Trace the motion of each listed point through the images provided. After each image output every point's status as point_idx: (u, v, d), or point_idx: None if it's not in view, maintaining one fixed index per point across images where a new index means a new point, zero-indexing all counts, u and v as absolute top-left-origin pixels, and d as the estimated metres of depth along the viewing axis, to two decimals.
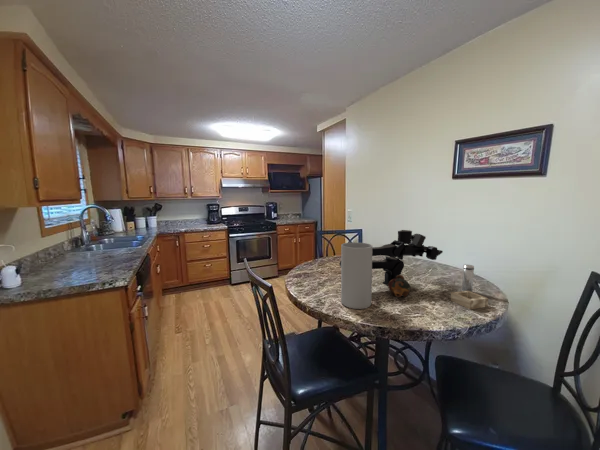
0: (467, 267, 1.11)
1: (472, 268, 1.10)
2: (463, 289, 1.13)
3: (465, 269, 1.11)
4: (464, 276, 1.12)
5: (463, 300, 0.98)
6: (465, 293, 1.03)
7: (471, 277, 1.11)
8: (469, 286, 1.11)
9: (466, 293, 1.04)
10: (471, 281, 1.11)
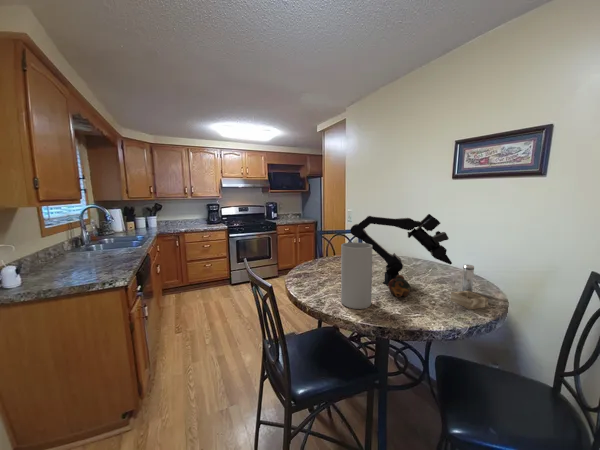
0: (467, 267, 1.11)
1: (472, 268, 1.10)
2: (463, 289, 1.13)
3: (465, 269, 1.11)
4: (464, 276, 1.12)
5: (463, 300, 0.98)
6: (465, 293, 1.03)
7: (471, 277, 1.11)
8: (469, 286, 1.11)
9: (466, 293, 1.04)
10: (471, 281, 1.11)
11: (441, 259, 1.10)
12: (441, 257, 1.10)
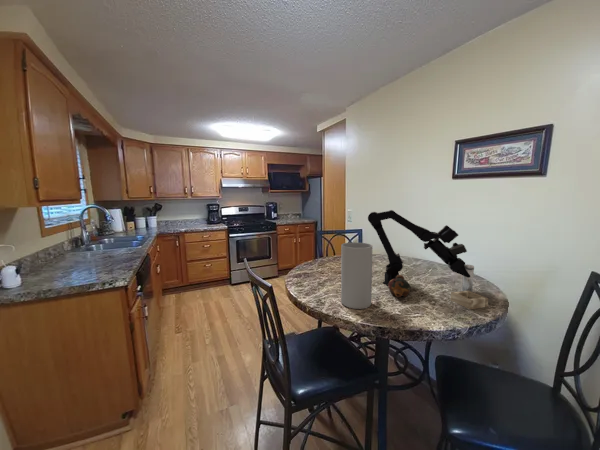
0: (467, 267, 1.11)
1: (472, 268, 1.10)
2: (463, 289, 1.13)
3: None
4: (464, 276, 1.12)
5: (463, 300, 0.98)
6: (465, 293, 1.03)
7: (471, 277, 1.11)
8: (469, 286, 1.11)
9: (466, 293, 1.04)
10: (471, 281, 1.11)
11: (459, 272, 1.08)
12: (459, 270, 1.08)
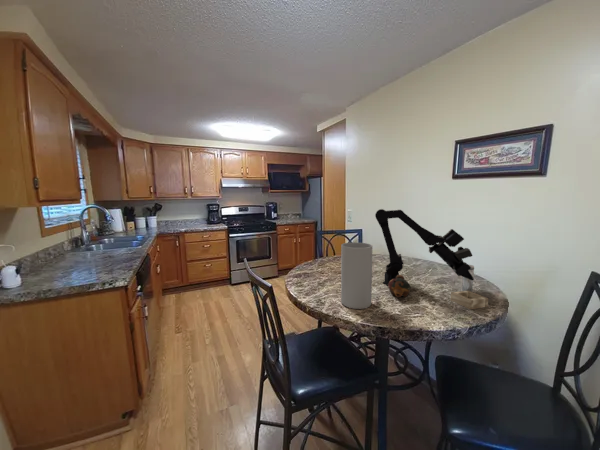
0: None
1: (472, 268, 1.10)
2: (463, 289, 1.13)
3: None
4: None
5: (463, 300, 0.98)
6: (465, 293, 1.03)
7: None
8: (469, 286, 1.11)
9: (466, 293, 1.04)
10: (471, 281, 1.11)
11: (463, 275, 1.10)
12: (463, 273, 1.10)
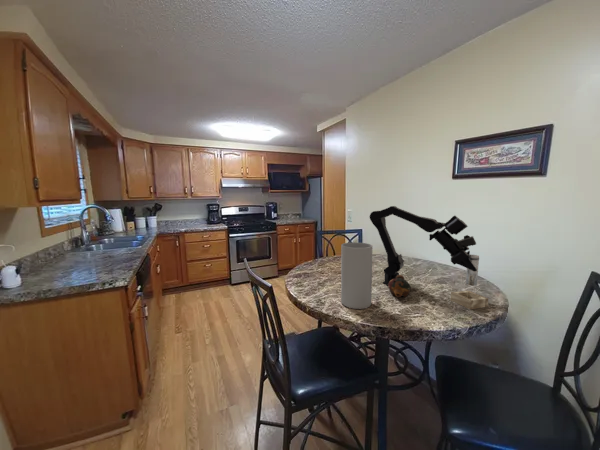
0: (470, 257, 1.02)
1: (476, 258, 1.00)
2: (466, 281, 1.04)
3: None
4: None
5: (463, 300, 0.98)
6: (465, 293, 1.03)
7: None
8: (472, 278, 1.02)
9: (466, 293, 1.04)
10: (474, 272, 1.01)
11: (463, 265, 1.02)
12: (463, 262, 1.02)
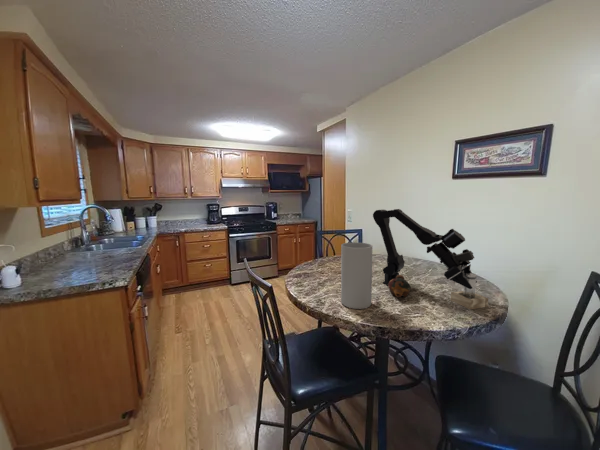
0: (466, 275, 0.99)
1: (472, 277, 0.97)
2: None
3: None
4: None
5: (463, 300, 0.98)
6: None
7: None
8: (468, 297, 0.99)
9: None
10: (471, 292, 0.98)
11: (457, 281, 0.97)
12: (458, 279, 0.97)
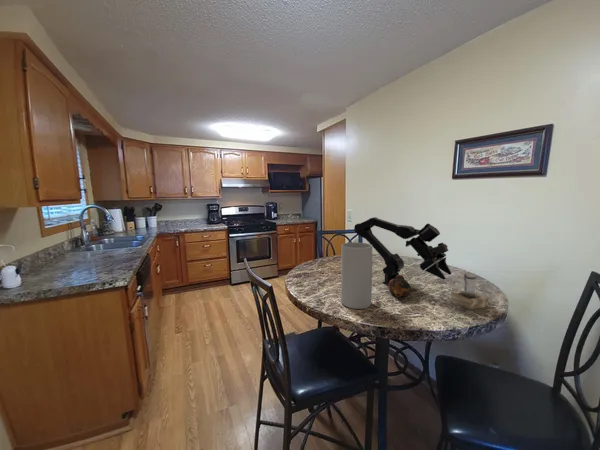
0: (466, 275, 0.99)
1: (472, 277, 0.97)
2: None
3: (464, 277, 1.00)
4: (464, 285, 1.00)
5: (463, 300, 0.98)
6: None
7: (471, 287, 0.98)
8: (468, 297, 0.99)
9: None
10: (471, 292, 0.98)
11: (432, 272, 1.04)
12: (432, 270, 1.04)
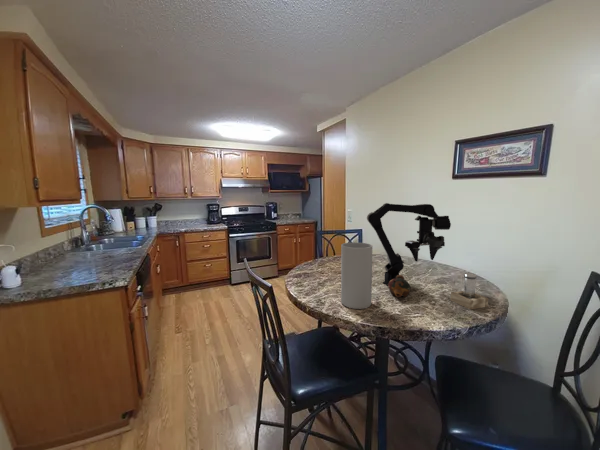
0: (466, 275, 0.99)
1: (472, 277, 0.97)
2: None
3: (464, 277, 1.00)
4: (464, 285, 1.00)
5: (463, 300, 0.98)
6: None
7: (471, 287, 0.98)
8: (468, 297, 0.99)
9: None
10: (471, 292, 0.98)
11: (411, 251, 1.20)
12: (413, 250, 1.19)
